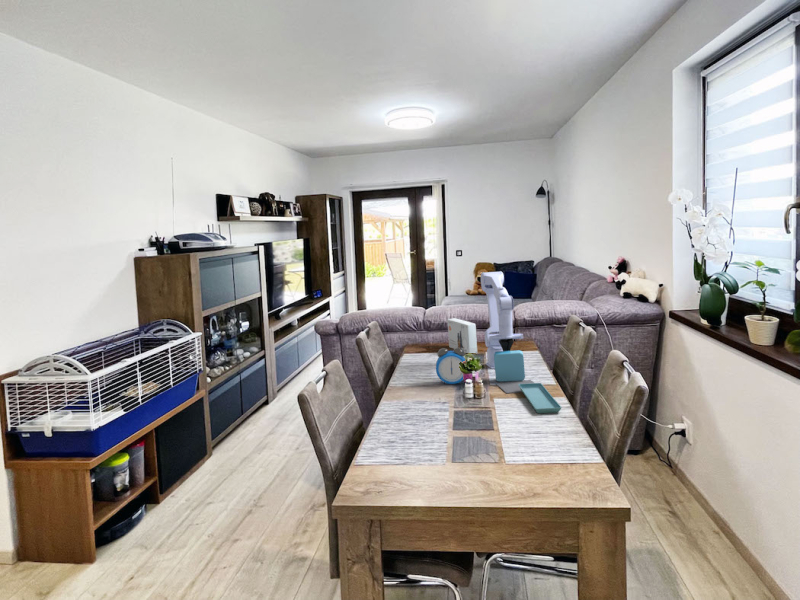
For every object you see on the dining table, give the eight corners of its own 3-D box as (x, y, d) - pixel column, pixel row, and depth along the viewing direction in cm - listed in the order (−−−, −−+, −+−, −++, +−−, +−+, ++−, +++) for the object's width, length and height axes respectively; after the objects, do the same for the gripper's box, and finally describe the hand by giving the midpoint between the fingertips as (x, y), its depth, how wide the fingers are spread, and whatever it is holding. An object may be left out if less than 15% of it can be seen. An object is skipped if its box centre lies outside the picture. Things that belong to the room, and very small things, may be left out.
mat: (495, 384, 215) (495, 383, 215) (530, 380, 217) (530, 379, 217) (506, 393, 202) (506, 392, 202) (543, 390, 204) (543, 389, 204)
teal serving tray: (562, 413, 178) (562, 406, 178) (535, 414, 178) (535, 407, 178) (541, 388, 204) (541, 382, 204) (518, 390, 204) (517, 383, 204)
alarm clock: (436, 385, 218) (435, 350, 216) (436, 380, 224) (435, 346, 222) (468, 384, 216) (466, 349, 214) (467, 380, 222) (466, 345, 220)
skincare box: (448, 347, 284) (446, 318, 282) (456, 346, 287) (455, 317, 284) (468, 355, 265) (467, 324, 263) (477, 353, 268) (476, 323, 265)
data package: (524, 377, 219) (522, 349, 218) (525, 380, 215) (523, 352, 213) (496, 378, 222) (493, 351, 220) (496, 382, 217) (493, 354, 216)
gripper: (492, 328, 215) (493, 360, 216) (525, 325, 217) (526, 356, 218) (486, 325, 221) (487, 356, 223) (519, 322, 223) (520, 353, 225)
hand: (506, 356), depth 221 cm, fingers closed
